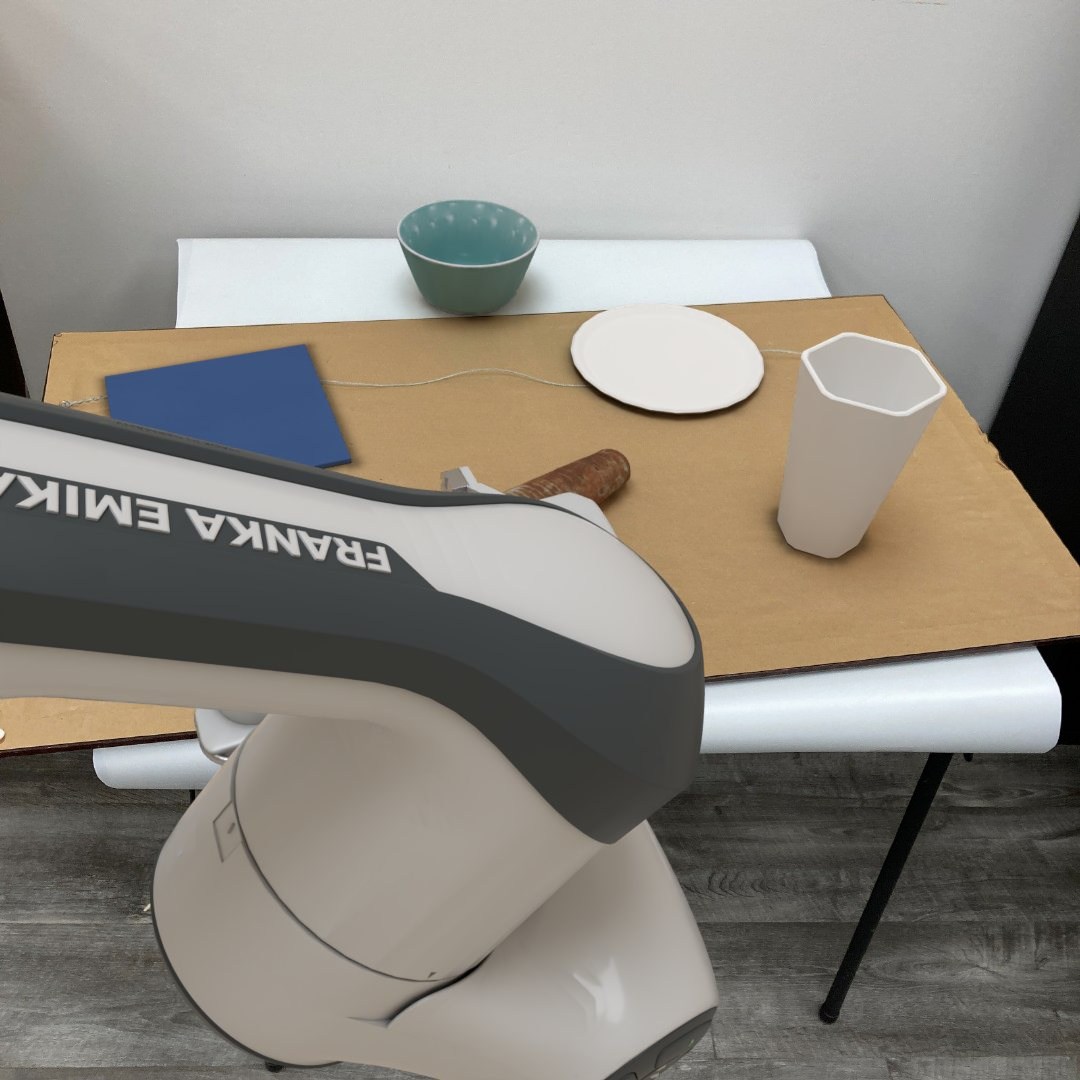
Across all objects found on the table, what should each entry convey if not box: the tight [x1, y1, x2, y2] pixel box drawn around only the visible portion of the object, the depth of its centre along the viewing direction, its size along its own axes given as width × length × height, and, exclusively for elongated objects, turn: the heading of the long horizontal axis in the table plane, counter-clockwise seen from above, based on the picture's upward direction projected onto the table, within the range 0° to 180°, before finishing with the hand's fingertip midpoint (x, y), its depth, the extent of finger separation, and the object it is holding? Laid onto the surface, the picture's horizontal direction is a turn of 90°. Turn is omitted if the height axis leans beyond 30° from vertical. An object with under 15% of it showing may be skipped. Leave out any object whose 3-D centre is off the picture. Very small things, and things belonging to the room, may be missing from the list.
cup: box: [776, 331, 948, 559], centre depth 82 cm, size 11×10×17 cm
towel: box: [104, 343, 352, 469], centre depth 94 cm, size 20×20×1 cm
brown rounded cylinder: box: [502, 448, 632, 506], centre depth 84 cm, size 6×19×6 cm, turn 133°
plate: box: [570, 302, 765, 416], centre depth 105 cm, size 21×21×1 cm
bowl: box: [396, 198, 541, 317], centre depth 110 cm, size 16×16×8 cm
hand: (366, 499), depth 50 cm, fingers open, 8 cm apart
